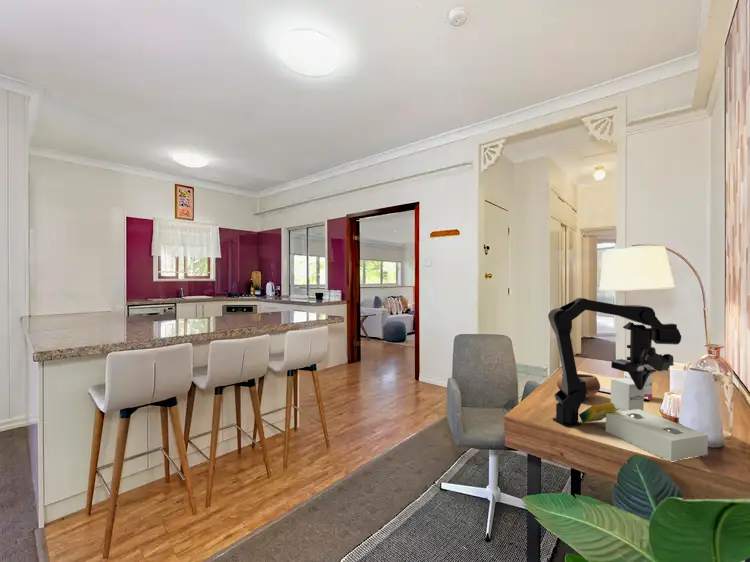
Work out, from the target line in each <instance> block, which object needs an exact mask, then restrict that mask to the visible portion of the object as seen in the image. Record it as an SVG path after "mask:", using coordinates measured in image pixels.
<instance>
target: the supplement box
mask: <svg viewBox="0 0 750 562" xmlns="http://www.w3.org/2000/svg"><path fill="white" fill-rule="evenodd" d="M644 400H645V399H644V387H643V389H642V390H638V389H637V387H636V385H635V383H634V382H633V380H632V379H628V378H624V377H622V378H621V377H620V378H611V379H610V403H613V404H614V406H615V408H616V409H617V408H620V409H619V410H617V411H615V412H619V411H627V410H635V409H640V410H643V411H644V407H645V406H644Z"/></svg>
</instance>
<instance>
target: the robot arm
mask: <svg viewBox="0 0 750 562" xmlns="http://www.w3.org/2000/svg"><path fill="white" fill-rule="evenodd" d="M586 311H591V312H595V313H600V314H606V315H613V316H618V317H620V318H623V319H626V320H629V322H628V323H626V324H625V325H623V327H622V329H624V330H628V331H630V333H629V334H630V335H629V336H630V337H629V338H630V340H629V341H630V342H629V344H626V348H627V349H629V356H626V359H621V358H620V359H613V360H612V361H611V366H610V367H611V369H615V370H618V371H621V372H624V371H625V372H628V373H629V374H630V376H631V378H632V380H633V382H634V383H635V385H636V387H637V389H638V390H642V389H643V387H644V385H645V382H646V380H647V378H648V376H649V375H650V374H652V375H653V374H654V373H656V372H662V371H666V372H667V371H669V369H670V367H672V366H675V364H674V355H672V354H670V353H664V354H661V353H660V354H659V353H657V352H656V351H657V350H656V348H655V347H653V345H652V342H654V343H655V344H657V345H679V344H680V343H681V342H682V335H681V332H680V330H679V328H678V324H676V323H662V322H661V321H660V320H659V319H658V317H657V316H656V312H655V310H654V309H653V308H652V307H649V306H646V305H645V306H644V305H639V304H615V303H614V304H613V303H609V302H604V301H603V302H602V301H597V300H593V299H587V298H584V297H577V298H575V299H574V300H572V301H571V302H568V303H567V304H564V305H562V306H561V307H559V308H554V309H551V310H550V311H549V312H548V314H547V315H548V321H549V323H550V325H551V328H552V330H553V333H554V334H555V336H556V343H557V347H558V354H559V359H560V364H561V371H562V374H563V377H562V389H558V391H557V392H555V393H554V398H555V400H556V401H557V403H556V404H555V406H556V409H555V417H552V421H555V422H557V423H558V424H560V425H563V426H564V427H567V428H568V427H569V428H570V427H574V426H581V425H582V422H579V409H580V407H581V405H582V403H584V402H585V400H586V399H587V397H586V394H588V393H587V391H586V383H585V381H583V380H582V379H581V378H580V377H578V375H577V374H578V371H577V366H576V362H575V361H576V360H575V355H574V349H573V345H572V338H571V332H572V328H573V321H574V320H575V319H577V317H579V316H580V315H582V313H584V312H586ZM630 321H631V322H630ZM633 322H634V323H635V322H636V323H637V324H634V323H633ZM646 326H648V327H646Z"/></svg>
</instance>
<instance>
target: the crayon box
mask: <svg viewBox="0 0 750 562" xmlns="http://www.w3.org/2000/svg"><path fill="white" fill-rule="evenodd" d="M619 409H620V408H617V409H616V408H615V406H614V404H613V403H611V402H606V403H599V404H593V405H591V406H589V407H588V408H587V409H586V410H584V411H582V412H581V413H578V417H579V418H580V420H581V423H582V424H584V422H585V423H592V422H599V421H602V420H604V419H606V413H611V412H615V411H617V410H619Z"/></svg>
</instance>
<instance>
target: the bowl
mask: <svg viewBox="0 0 750 562" xmlns="http://www.w3.org/2000/svg"><path fill="white" fill-rule="evenodd" d="M577 375H578V377H580V378H581V379H582V380H583V381H585V383H586V391H587V393H588V394H586V398H589V397H593V396H595V395H596V394H597V393H599V391H600V389H601V384H600V382H599V379H598V378H597V376H595V375H593V374H588V373H577ZM562 377H563V373H560V374H559V376H558V377H557V380H556V386H557V387H558V390H560V389H562Z"/></svg>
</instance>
